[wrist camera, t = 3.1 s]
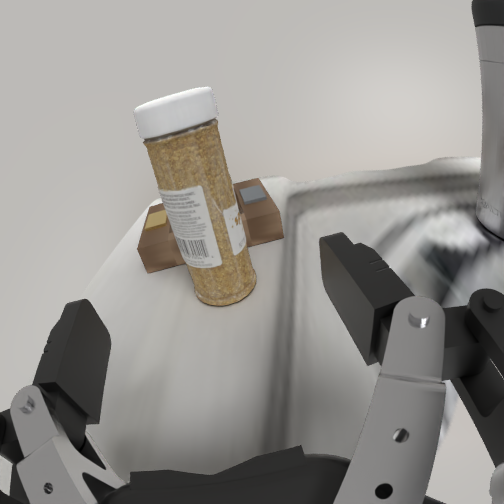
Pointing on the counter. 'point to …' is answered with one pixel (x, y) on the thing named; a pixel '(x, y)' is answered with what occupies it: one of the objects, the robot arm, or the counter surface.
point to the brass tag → (156, 220)
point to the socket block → (253, 219)
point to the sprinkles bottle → (198, 192)
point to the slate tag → (252, 194)
